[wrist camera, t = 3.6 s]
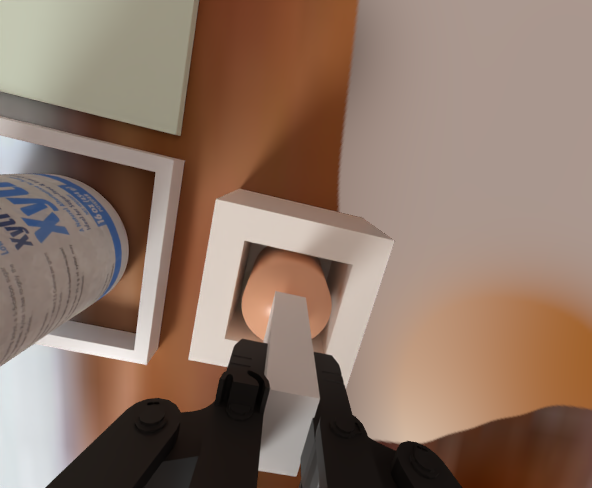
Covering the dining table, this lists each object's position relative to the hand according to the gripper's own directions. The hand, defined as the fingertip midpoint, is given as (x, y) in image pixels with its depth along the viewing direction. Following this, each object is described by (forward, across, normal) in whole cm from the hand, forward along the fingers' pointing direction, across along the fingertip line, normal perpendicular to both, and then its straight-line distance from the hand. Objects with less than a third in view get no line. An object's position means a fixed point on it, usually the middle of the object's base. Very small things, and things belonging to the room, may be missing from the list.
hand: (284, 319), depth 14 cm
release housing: (+8, 0, 0) cm, 8 cm away
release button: (+6, 0, 0) cm, 6 cm away
